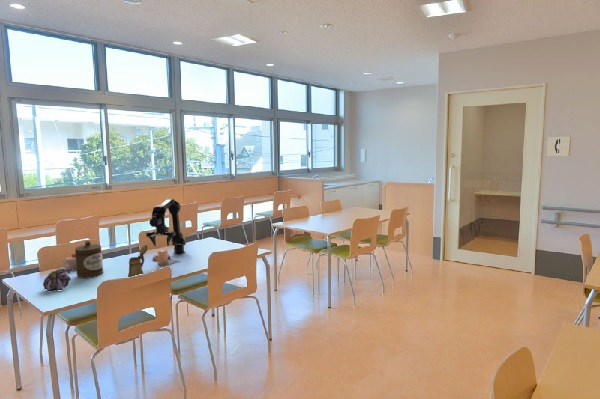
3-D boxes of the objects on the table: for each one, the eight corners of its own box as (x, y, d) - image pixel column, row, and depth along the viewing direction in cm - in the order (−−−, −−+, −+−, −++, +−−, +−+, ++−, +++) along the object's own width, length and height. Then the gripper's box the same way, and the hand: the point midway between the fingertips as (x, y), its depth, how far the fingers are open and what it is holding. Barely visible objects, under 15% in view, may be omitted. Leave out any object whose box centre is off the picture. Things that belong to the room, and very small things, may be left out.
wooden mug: (152, 272, 259) (150, 245, 257) (132, 278, 249) (131, 250, 246) (144, 270, 265) (143, 243, 262) (125, 275, 254) (123, 248, 252)
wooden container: (89, 279, 248) (86, 244, 245) (71, 276, 253) (68, 242, 250) (108, 272, 262) (105, 239, 259) (91, 270, 267) (88, 237, 264)
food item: (68, 271, 264) (66, 257, 263) (62, 269, 269) (61, 255, 267) (89, 266, 275) (88, 252, 273) (83, 264, 280) (82, 250, 278)
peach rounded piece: (160, 262, 283) (160, 249, 282) (169, 262, 282) (169, 249, 281) (152, 267, 271) (151, 254, 270) (162, 267, 270) (161, 254, 269)
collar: (163, 255, 300) (163, 253, 300) (173, 258, 293) (173, 255, 293) (149, 259, 291) (149, 256, 290) (159, 262, 284) (159, 259, 283)
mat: (172, 259, 290) (172, 259, 290) (180, 261, 284) (180, 261, 284) (157, 263, 279) (157, 263, 279) (165, 266, 274) (165, 265, 274)
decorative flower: (33, 276, 225) (56, 261, 237) (36, 291, 230) (59, 276, 243) (53, 285, 221) (75, 270, 234) (56, 300, 227) (78, 285, 239)
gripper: (178, 221, 281) (179, 243, 283) (152, 221, 283) (153, 243, 285) (171, 224, 270) (173, 247, 272) (145, 224, 272) (146, 247, 274)
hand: (161, 246), depth 276 cm, fingers open, 9 cm apart
